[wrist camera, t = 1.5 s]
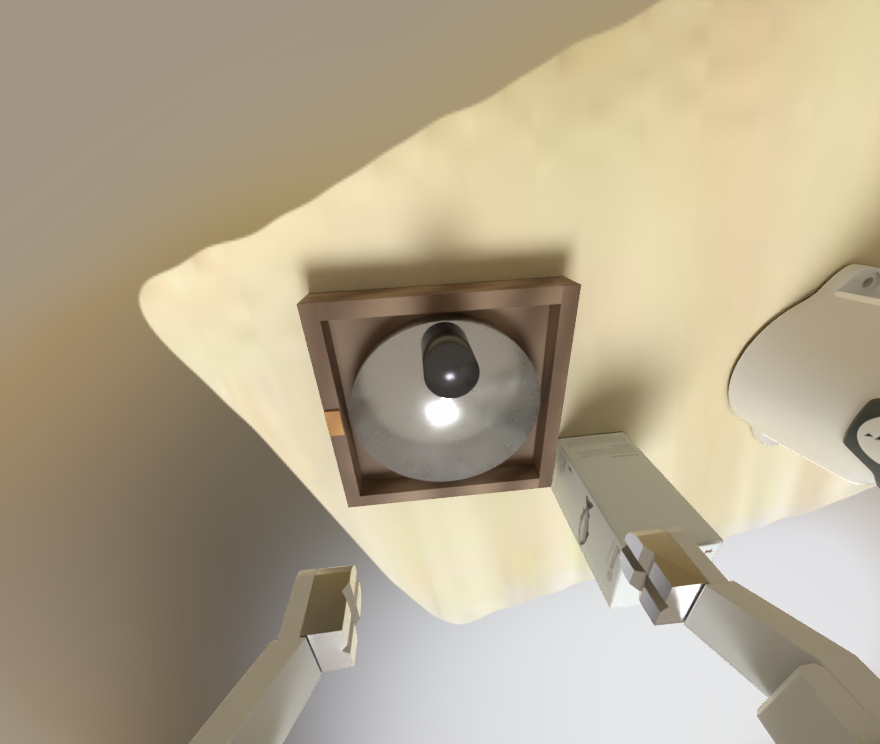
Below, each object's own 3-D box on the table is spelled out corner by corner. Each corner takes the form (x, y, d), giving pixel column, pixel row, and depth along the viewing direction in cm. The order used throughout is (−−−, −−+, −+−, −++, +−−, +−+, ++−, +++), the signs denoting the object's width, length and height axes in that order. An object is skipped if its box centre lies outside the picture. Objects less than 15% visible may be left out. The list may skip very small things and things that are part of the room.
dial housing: (563, 276, 26) (582, 285, 23) (540, 465, 35) (551, 488, 32) (308, 293, 25) (295, 304, 22) (353, 483, 34) (348, 508, 31)
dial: (526, 460, 33) (552, 516, 27) (368, 475, 32) (359, 537, 26) (541, 306, 26) (581, 337, 20) (337, 321, 25) (314, 358, 19)
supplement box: (555, 437, 34) (627, 553, 22) (624, 430, 34) (730, 541, 23) (548, 488, 37) (608, 612, 26) (611, 481, 37) (698, 600, 26)
